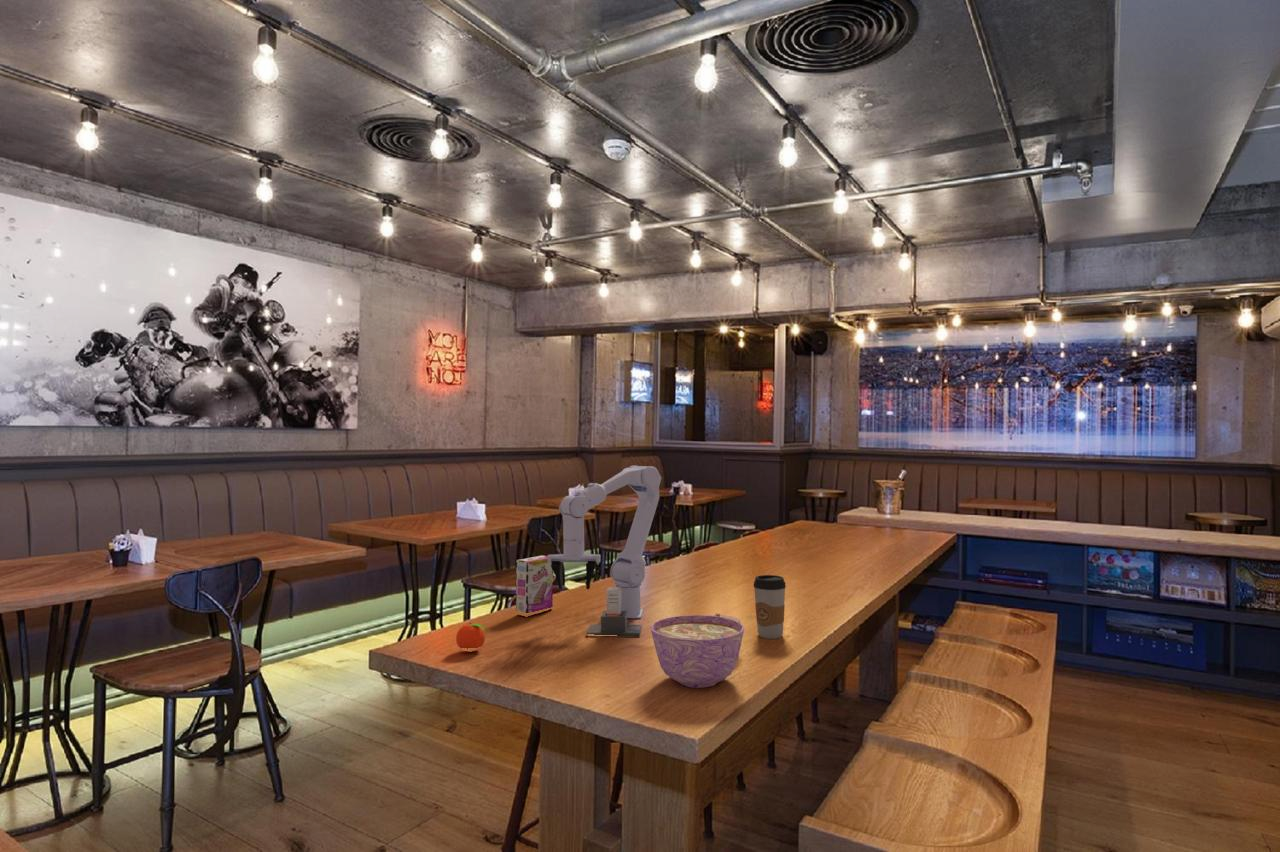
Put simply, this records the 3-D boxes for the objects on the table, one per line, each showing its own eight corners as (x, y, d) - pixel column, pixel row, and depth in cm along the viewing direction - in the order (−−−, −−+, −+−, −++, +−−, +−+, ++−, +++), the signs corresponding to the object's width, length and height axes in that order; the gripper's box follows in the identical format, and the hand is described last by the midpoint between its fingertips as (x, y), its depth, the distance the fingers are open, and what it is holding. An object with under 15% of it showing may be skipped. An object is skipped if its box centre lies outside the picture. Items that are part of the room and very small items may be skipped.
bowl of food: (670, 662, 164) (669, 611, 164) (755, 671, 156) (754, 619, 156) (636, 691, 145) (635, 634, 146) (731, 703, 138) (730, 644, 138)
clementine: (494, 649, 176) (493, 620, 176) (480, 657, 169) (480, 627, 170) (465, 646, 178) (464, 618, 178) (450, 655, 172) (450, 625, 172)
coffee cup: (747, 636, 184) (746, 578, 184) (765, 629, 190) (764, 573, 190) (775, 642, 178) (774, 582, 179) (792, 634, 185) (791, 577, 185)
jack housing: (590, 628, 194) (590, 608, 194) (641, 628, 193) (641, 609, 193) (586, 636, 186) (586, 616, 186) (639, 636, 185) (639, 616, 185)
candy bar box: (527, 618, 206) (527, 561, 206) (515, 615, 209) (514, 560, 209) (554, 610, 215) (553, 556, 215) (542, 608, 218) (541, 554, 218)
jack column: (608, 618, 191) (607, 587, 192) (622, 618, 191) (621, 587, 191) (606, 621, 188) (606, 590, 188) (620, 621, 187) (620, 590, 188)
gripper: (545, 541, 193) (545, 591, 193) (597, 541, 192) (598, 591, 192) (550, 537, 200) (550, 586, 200) (601, 537, 199) (601, 586, 199)
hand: (574, 588), depth 196 cm, fingers open, 7 cm apart
